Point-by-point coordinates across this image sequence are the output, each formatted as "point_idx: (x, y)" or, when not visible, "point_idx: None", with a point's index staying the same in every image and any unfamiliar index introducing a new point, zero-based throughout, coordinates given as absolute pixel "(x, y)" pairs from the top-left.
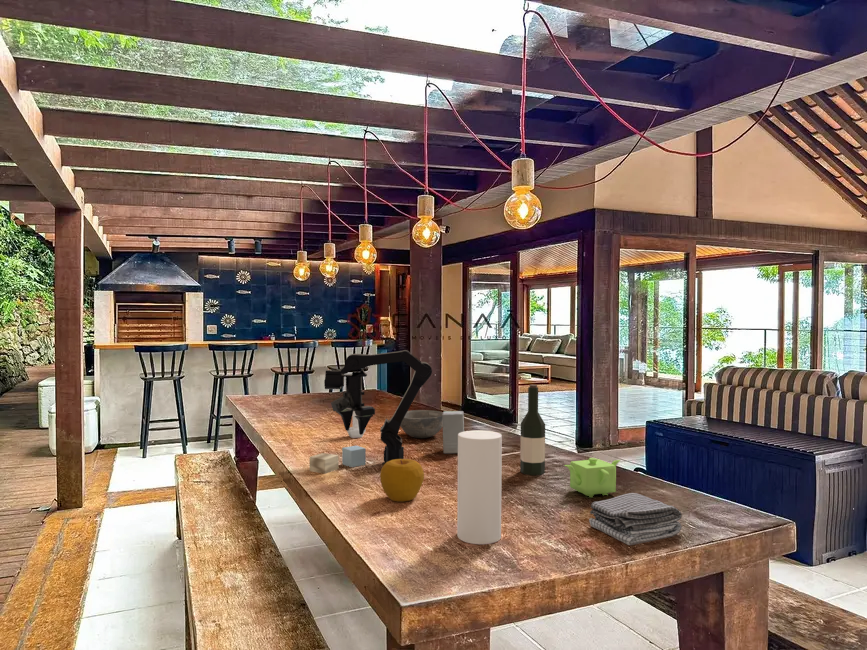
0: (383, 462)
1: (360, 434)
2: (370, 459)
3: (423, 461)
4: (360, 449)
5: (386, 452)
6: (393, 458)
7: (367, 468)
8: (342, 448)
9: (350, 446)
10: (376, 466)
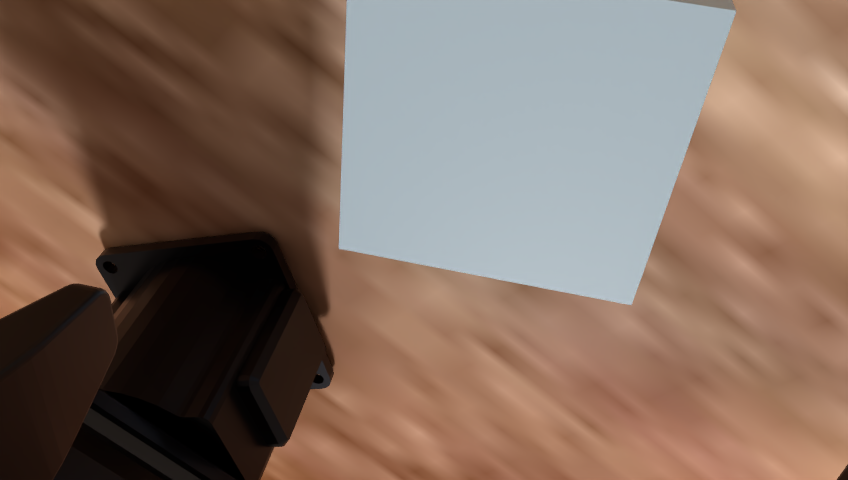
0: (271, 261)
1: (80, 289)
2: (550, 310)
3: None
4: (344, 156)
5: (192, 354)
6: (118, 312)
7: (229, 6)
8: (727, 5)
9: (665, 196)
10: (245, 142)
